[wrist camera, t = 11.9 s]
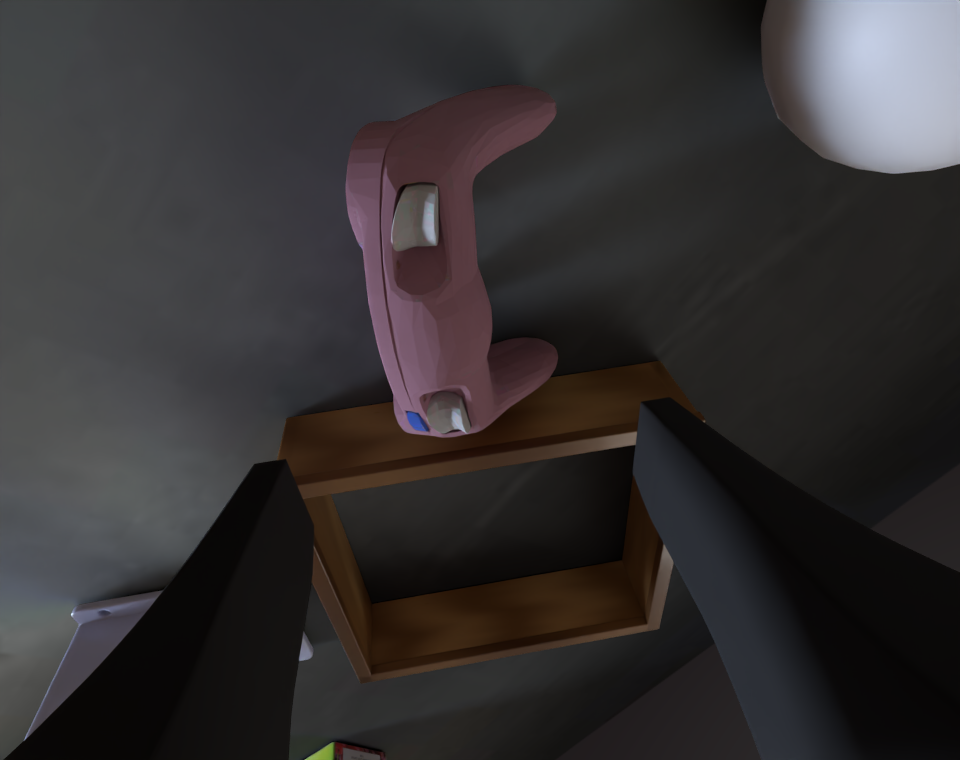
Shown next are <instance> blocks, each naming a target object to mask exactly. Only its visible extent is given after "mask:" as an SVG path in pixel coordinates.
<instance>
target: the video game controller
mask: <svg viewBox="0 0 960 760" xmlns="http://www.w3.org/2000/svg"><path fill="white" fill-rule="evenodd" d="M556 112H557V111H556V104H555V101H554V100H553V99H552V98H551V96H550V95H549V94H548V93H546V92H544V91H541V90H539V89H537V88H532V87H528V86H523V85H502V86H493V87H488V88H483V89H479V90H474V91H470V92H467V93H464V94H461V95H458V96H454V97H451V98H448V99H445V100H442V101H440V102H437V103H435V104H433V105H431V106H428V107H426V108H424V109H421V110H419V111H417V112H415V113H412V114H410V115H408V116H406V117H403V118H401V119H399V120H396V121H383V122H372V123H369V124H367V125H365V126H364V127H362V128H361V129H360V131H359V132H358V133H357V135H356V137H355V139H354V141H353V144H352V146H351V150H350V155H349V160H348V166H347V178H346V200H347V209H348V216H349V219H350V222H351V226H352V229H353V231H354V234H355V236H356V239H357V241H358V244H359V245H360V247H361V248H362V249H363V258H364V267H365V276H366V285H367V294H368V302H369V307H370V312H371V317H372V322H373V327H374V332H375V337H376V342H377V346H378V349H379V353H380V356H381V359H382V363H383V366H384V369H385V373H386V376H387V378H388V381H389V384H390V387H391V389H392V392H393V403H394V412H395V416H396V418H397V421H398V424H399V425H400V427H401V428H402V429H403V430H404V431H405V432H407V433H411V434H420V435H429V436H436V437H442V438H445V437H456V436H461V435H466V434H471V433H476V432H479V431H481V430H483V429H485V428H486V427H487V426H489V425H490V424H491V423H492V422H493V421H494V420H496V419H497V418H498V417H499V416H500V415H501V414H502V413H503V412H505V411H506V410H507V409H508V408H509V407H511V406H512V405H514V404H515V403H517V402H518V401H520V400H521V399H523V398H524V397H526V396H527V395H529V394H530V393H532V392H533V391H535V390H536V389H537V388H539V387H540V386H541V385H542V384H544V383H545V382H546V381H547V380H548V379H549V378H550V377H551V375H552V373H553V372H554V370H555V369H556V366H557V361H558V354H557V351H556V349H555V347H554V346H553V345H551V344H550V343H548V342H546V341H544V340H541V339H538V338H528V337H521V338H514V339H508V340H505V341H501V342H498V343H495V344H492V345H490V343H491V336H492V310H491V305H490V301H489V298H488V295H487V291H486V288H485V284H484V282H483V279H482V276H481V273H480V271H479V268H478V265H477V248H476V230H475V218H474V207H473V196H472V188H473V181H474V178H475V176H476V175H477V174H478V173H479V172H480V171H481V170H482V169H483V168H484V167H485V166H487V165H488V164H490V163H491V162H492V161H494V160H495V159H497V158H498V157H499V156H501V155H503V154H505V153H506V152H508V151H510V150H512V149H514V148H516V147H518V146H520V145H522V144H524V143H526V142H528V141H530V140H532V139H534V138H536V137H537V136H539V135H540V134H541V133H542V132H543V131H544V130H545V128H546V127H547V126H548V125H549V124H550V123H551V122H552V120H553V119H554V117H555V115H556Z"/></svg>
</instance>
